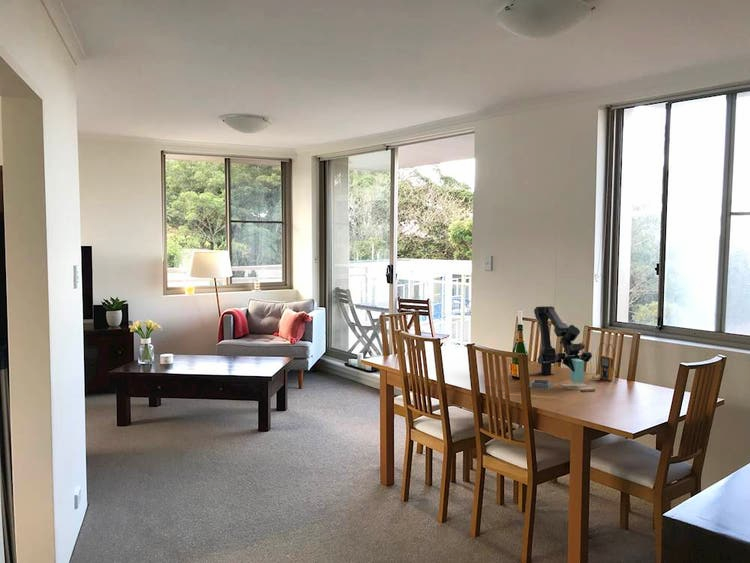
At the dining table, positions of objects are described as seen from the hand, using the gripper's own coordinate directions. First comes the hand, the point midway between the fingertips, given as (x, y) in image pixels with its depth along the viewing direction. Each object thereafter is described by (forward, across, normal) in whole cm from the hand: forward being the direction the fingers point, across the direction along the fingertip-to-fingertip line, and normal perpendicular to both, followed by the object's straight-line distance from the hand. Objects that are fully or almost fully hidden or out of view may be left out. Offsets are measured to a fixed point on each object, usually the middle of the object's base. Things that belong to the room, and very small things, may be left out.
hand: (578, 371), depth 303 cm
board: (+6, 0, +8) cm, 10 cm away
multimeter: (-5, +23, +19) cm, 30 cm away
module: (+3, 0, +5) cm, 6 cm away
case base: (+2, -18, +11) cm, 21 cm away
